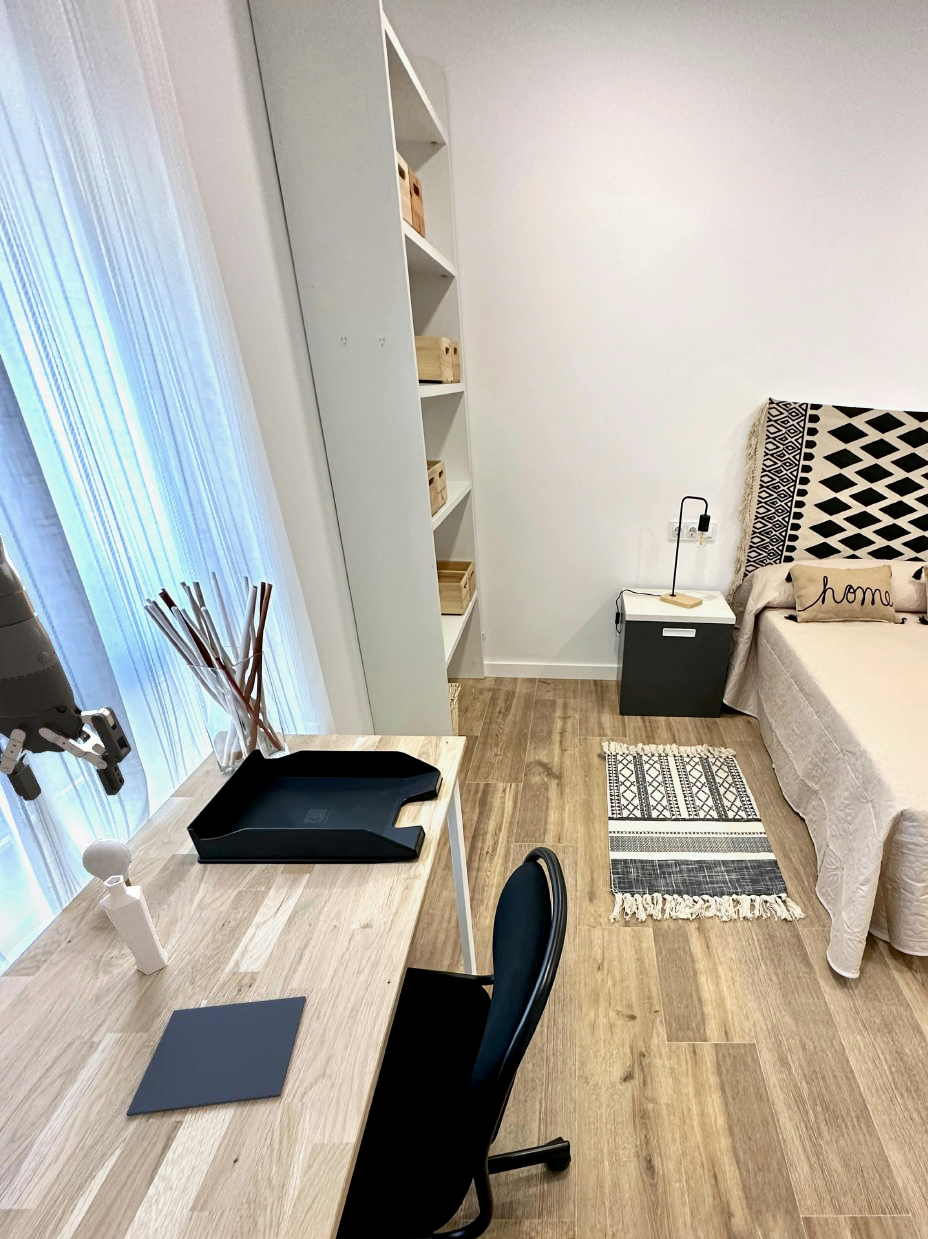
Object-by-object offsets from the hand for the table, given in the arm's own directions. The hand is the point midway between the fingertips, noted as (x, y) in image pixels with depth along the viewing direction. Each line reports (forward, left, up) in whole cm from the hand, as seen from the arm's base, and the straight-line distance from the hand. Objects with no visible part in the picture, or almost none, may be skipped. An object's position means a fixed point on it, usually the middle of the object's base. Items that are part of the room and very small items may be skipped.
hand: (74, 794), depth 75 cm
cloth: (+14, -16, -28) cm, 35 cm away
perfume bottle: (0, 0, -28) cm, 28 cm away
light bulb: (-10, +16, -28) cm, 34 cm away
